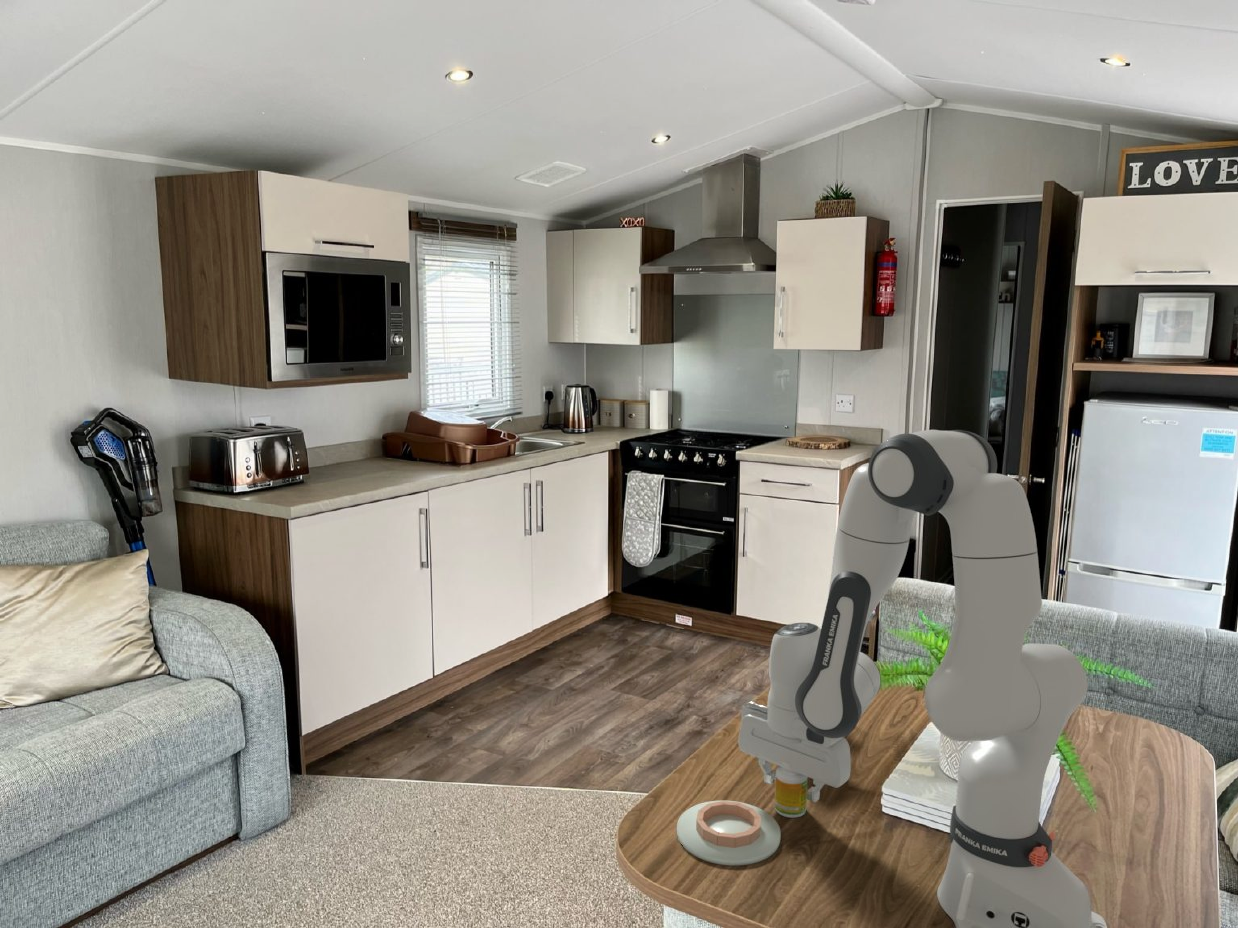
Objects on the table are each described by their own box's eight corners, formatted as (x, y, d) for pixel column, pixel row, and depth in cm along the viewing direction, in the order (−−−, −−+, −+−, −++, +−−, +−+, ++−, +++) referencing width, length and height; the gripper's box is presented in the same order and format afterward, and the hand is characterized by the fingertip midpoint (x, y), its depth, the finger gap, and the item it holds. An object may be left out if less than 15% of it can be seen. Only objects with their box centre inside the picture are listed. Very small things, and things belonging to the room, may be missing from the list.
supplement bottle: (805, 820, 156) (808, 767, 155) (773, 816, 158) (775, 764, 156) (806, 803, 162) (808, 752, 160) (774, 800, 163) (776, 749, 161)
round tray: (799, 831, 153) (800, 815, 153) (743, 879, 141) (743, 863, 140) (715, 795, 164) (716, 780, 164) (656, 837, 152) (656, 821, 151)
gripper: (732, 704, 161) (730, 777, 163) (838, 741, 147) (835, 820, 150) (752, 692, 165) (750, 763, 168) (857, 727, 152) (853, 804, 155)
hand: (791, 790), depth 159 cm, fingers open, 7 cm apart
